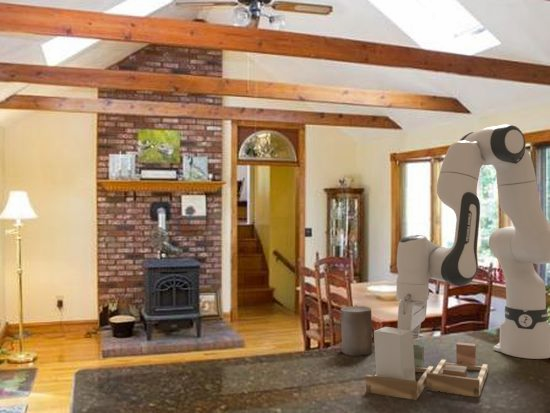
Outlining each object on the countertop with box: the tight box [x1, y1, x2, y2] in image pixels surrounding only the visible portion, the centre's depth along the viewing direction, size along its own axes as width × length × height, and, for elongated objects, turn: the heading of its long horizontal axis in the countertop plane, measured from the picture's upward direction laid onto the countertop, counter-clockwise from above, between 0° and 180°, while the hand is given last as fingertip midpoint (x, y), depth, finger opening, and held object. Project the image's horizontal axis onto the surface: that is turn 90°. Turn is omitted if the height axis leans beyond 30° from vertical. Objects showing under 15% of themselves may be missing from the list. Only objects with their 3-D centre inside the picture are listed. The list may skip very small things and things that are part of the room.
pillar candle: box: [340, 304, 373, 357], centre depth 168 cm, size 10×10×15 cm
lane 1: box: [365, 344, 435, 401], centre depth 140 cm, size 27×12×6 cm, turn 153°
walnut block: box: [442, 364, 468, 377], centre depth 134 cm, size 5×5×5 cm
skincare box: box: [373, 326, 416, 381], centre depth 133 cm, size 8×6×15 cm
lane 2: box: [426, 341, 489, 398], centre depth 141 cm, size 27×12×6 cm, turn 153°
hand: (412, 341), depth 151 cm, fingers open, 8 cm apart
